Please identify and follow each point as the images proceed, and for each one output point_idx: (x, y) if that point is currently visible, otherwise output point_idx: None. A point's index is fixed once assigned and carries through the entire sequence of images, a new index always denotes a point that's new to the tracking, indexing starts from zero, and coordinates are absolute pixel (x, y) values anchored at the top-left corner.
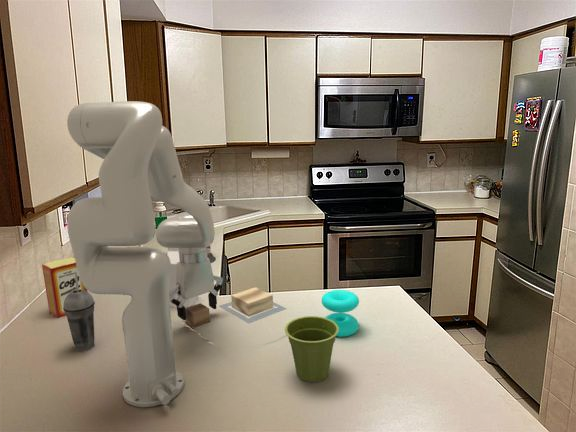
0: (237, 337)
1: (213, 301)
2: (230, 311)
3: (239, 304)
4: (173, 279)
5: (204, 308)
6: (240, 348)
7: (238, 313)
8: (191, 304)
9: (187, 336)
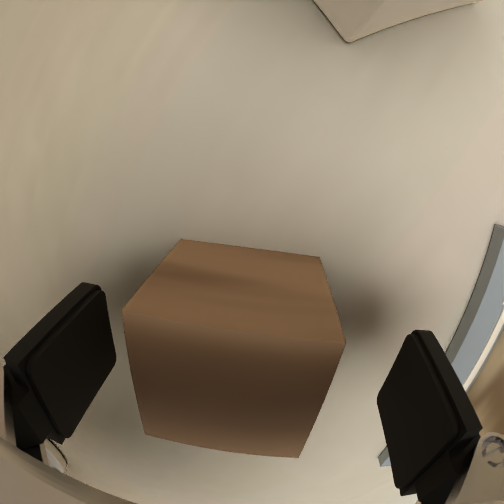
0: (280, 478)
1: (389, 454)
2: (464, 352)
3: (492, 407)
4: None
5: (272, 441)
6: (238, 498)
7: None
8: (400, 18)
9: (123, 363)
